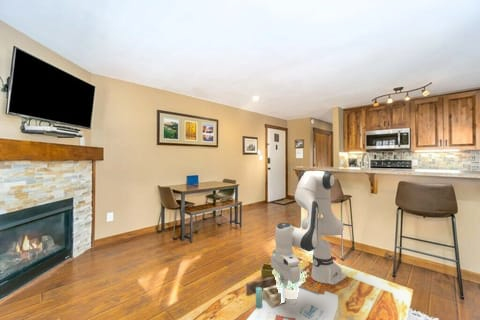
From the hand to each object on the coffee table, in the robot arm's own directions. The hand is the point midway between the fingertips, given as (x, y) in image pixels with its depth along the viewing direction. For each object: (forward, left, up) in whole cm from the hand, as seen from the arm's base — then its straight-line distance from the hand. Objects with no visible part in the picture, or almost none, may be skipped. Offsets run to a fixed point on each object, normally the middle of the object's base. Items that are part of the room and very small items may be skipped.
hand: (284, 283), depth 112 cm
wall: (0, -21, -14) cm, 25 cm away
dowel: (+10, -9, -14) cm, 19 cm away
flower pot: (-8, -28, -14) cm, 32 cm away
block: (0, -10, -14) cm, 17 cm away
